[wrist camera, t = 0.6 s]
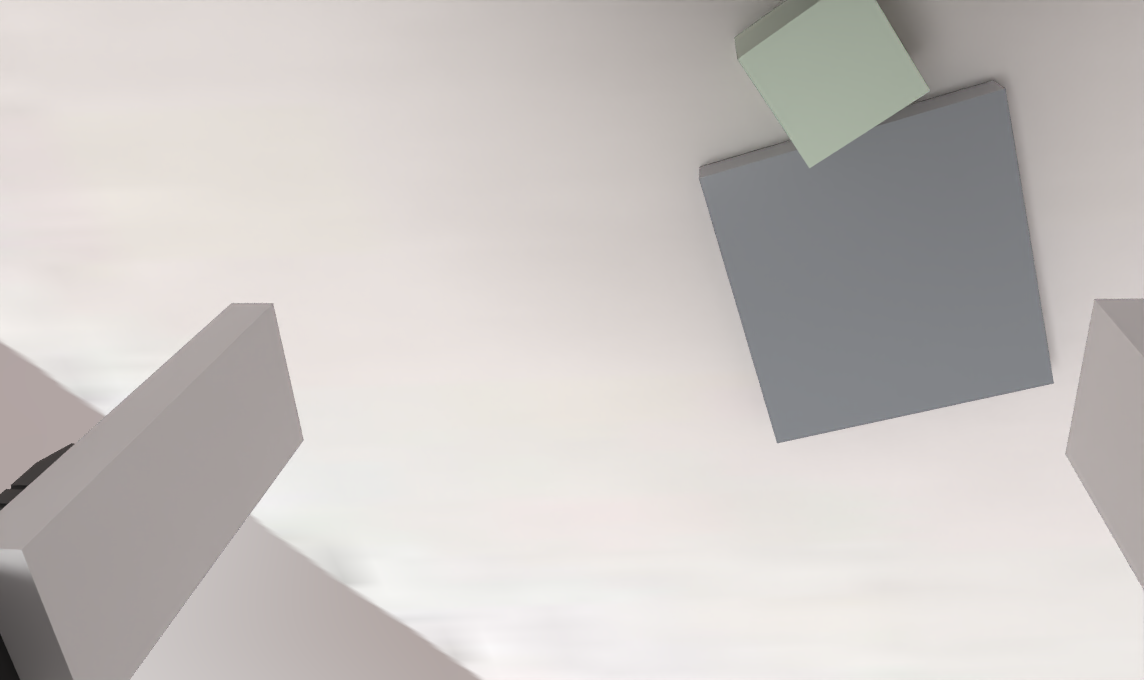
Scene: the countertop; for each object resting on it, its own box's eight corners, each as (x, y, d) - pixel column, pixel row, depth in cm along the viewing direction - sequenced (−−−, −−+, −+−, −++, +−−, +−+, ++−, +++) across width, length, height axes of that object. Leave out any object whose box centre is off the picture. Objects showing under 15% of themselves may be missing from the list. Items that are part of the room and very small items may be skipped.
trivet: (699, 167, 38) (699, 178, 36) (993, 80, 35) (1005, 88, 33) (775, 424, 42) (777, 443, 40) (1041, 365, 39) (1053, 383, 38)
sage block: (734, 37, 35) (737, 59, 31) (840, -39, 34) (859, -28, 29) (797, 134, 37) (809, 168, 32) (902, 64, 35) (930, 90, 31)
